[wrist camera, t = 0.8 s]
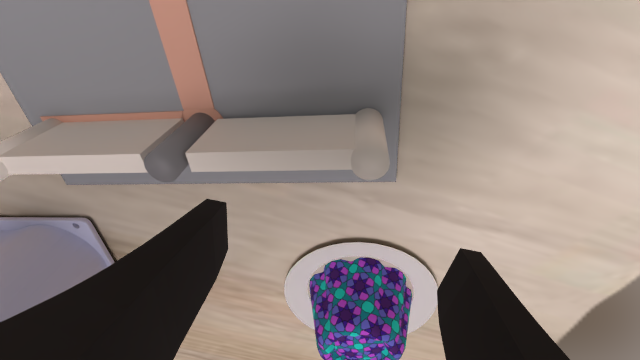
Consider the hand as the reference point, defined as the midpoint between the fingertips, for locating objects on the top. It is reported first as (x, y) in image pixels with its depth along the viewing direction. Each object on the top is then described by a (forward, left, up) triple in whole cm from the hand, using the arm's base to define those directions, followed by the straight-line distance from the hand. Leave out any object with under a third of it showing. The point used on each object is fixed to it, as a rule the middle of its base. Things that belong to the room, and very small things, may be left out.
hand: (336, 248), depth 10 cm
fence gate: (-3, 0, -9) cm, 9 cm away
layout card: (-8, +3, -10) cm, 13 cm away
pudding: (+1, -15, -10) cm, 18 cm away
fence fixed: (-13, 0, -9) cm, 16 cm away
